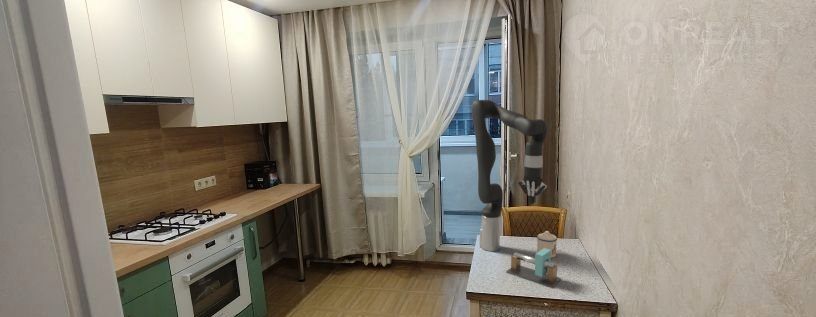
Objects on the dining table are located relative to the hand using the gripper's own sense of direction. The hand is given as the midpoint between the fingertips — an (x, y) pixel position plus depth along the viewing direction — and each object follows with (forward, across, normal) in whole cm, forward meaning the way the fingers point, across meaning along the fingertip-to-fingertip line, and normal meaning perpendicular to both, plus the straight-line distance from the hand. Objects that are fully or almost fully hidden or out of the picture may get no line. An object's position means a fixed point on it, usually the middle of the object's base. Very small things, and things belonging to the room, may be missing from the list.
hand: (531, 203), depth 160 cm
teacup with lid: (+29, 0, +17) cm, 34 cm away
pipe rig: (+28, +6, -10) cm, 31 cm away
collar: (+25, +11, -10) cm, 29 cm away
